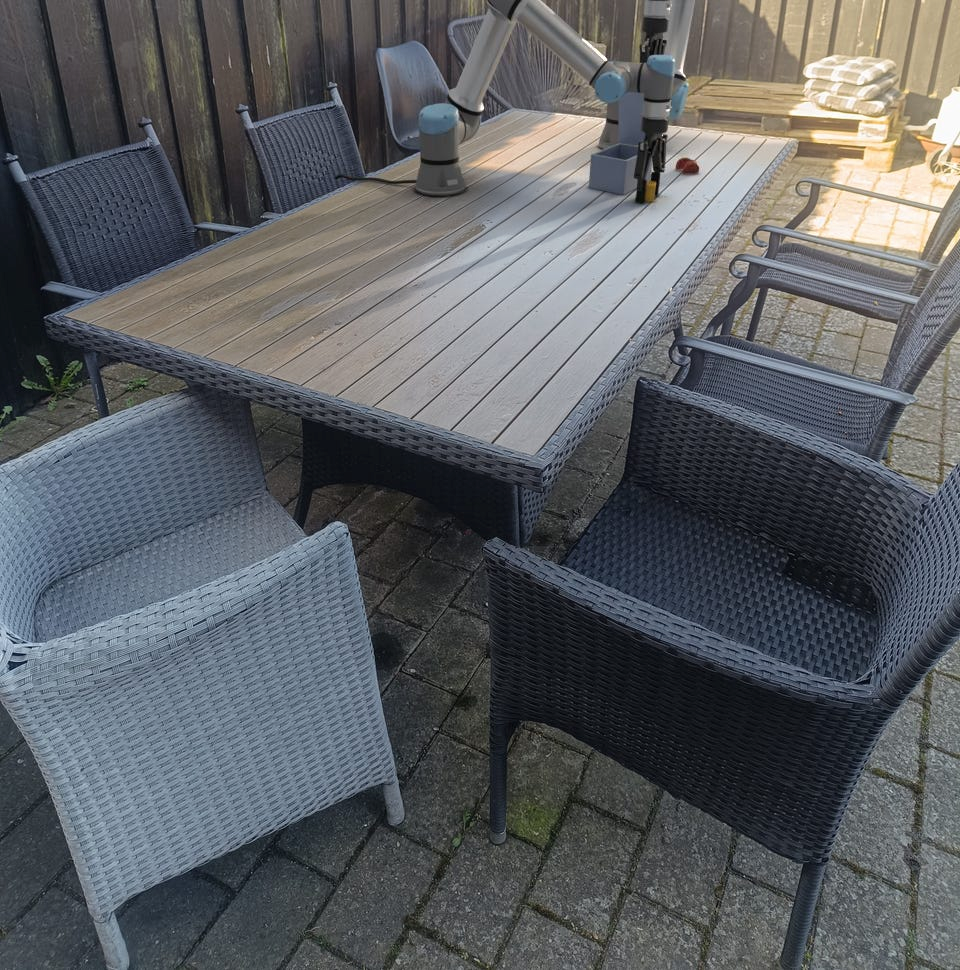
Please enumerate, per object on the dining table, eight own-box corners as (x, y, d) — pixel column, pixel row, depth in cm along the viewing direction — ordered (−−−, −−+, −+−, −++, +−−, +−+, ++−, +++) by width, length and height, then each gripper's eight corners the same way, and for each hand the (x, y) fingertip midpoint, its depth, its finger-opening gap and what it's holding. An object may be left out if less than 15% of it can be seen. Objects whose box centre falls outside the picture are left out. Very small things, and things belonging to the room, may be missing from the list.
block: (653, 202, 249) (655, 185, 246) (637, 200, 249) (639, 184, 247) (654, 197, 252) (656, 181, 250) (638, 196, 253) (640, 180, 250)
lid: (655, 87, 247) (669, 76, 251) (618, 82, 253) (632, 72, 257) (653, 147, 259) (667, 136, 264) (618, 141, 265) (632, 130, 270)
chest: (623, 194, 254) (626, 161, 249) (588, 187, 260) (590, 154, 255) (650, 181, 266) (653, 148, 260) (616, 174, 272) (619, 142, 266)
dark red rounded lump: (690, 153, 276) (701, 160, 269) (689, 167, 278) (700, 174, 272) (674, 155, 275) (685, 162, 268) (673, 169, 277) (684, 175, 271)
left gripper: (650, 125, 229) (641, 209, 242) (684, 111, 242) (673, 192, 255) (626, 121, 233) (618, 204, 246) (660, 108, 246) (651, 188, 259)
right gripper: (655, 20, 238) (646, 109, 252) (679, 14, 248) (669, 100, 262) (632, 18, 242) (624, 106, 256) (656, 12, 252) (647, 97, 266)
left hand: (646, 198), depth 251 cm, fingers open, 8 cm apart
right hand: (647, 103), depth 259 cm, fingers closed on lid, 2 cm apart
